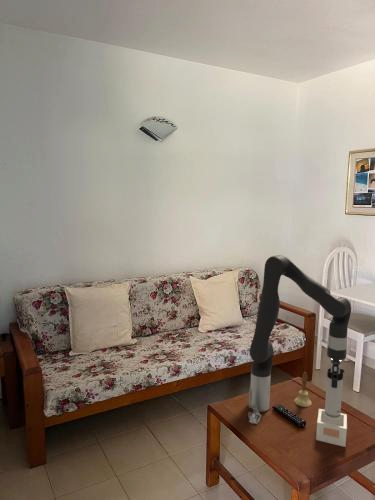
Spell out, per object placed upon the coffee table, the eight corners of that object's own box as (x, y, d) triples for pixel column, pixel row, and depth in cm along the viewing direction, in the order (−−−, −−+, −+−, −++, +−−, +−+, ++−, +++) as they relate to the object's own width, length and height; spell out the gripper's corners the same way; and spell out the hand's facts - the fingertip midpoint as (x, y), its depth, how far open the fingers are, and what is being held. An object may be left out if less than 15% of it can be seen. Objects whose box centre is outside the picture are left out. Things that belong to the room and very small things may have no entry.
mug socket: (316, 440, 159) (317, 422, 158) (318, 425, 169) (319, 408, 168) (345, 447, 154) (346, 429, 153) (345, 431, 165) (346, 414, 164)
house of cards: (245, 411, 181) (245, 396, 180) (263, 416, 176) (263, 400, 175) (238, 420, 173) (239, 405, 172) (257, 426, 169) (257, 410, 168)
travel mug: (342, 419, 157) (345, 373, 154) (325, 417, 158) (328, 371, 156) (339, 410, 163) (342, 367, 160) (323, 409, 164) (326, 365, 162)
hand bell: (310, 398, 192) (311, 369, 190) (313, 407, 184) (314, 376, 182) (293, 397, 193) (294, 367, 191) (295, 406, 185) (297, 375, 183)
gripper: (328, 338, 165) (325, 374, 167) (326, 350, 151) (323, 389, 154) (346, 341, 162) (344, 378, 164) (346, 353, 149) (343, 393, 151)
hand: (334, 383), depth 159 cm, fingers closed on travel mug, 6 cm apart
